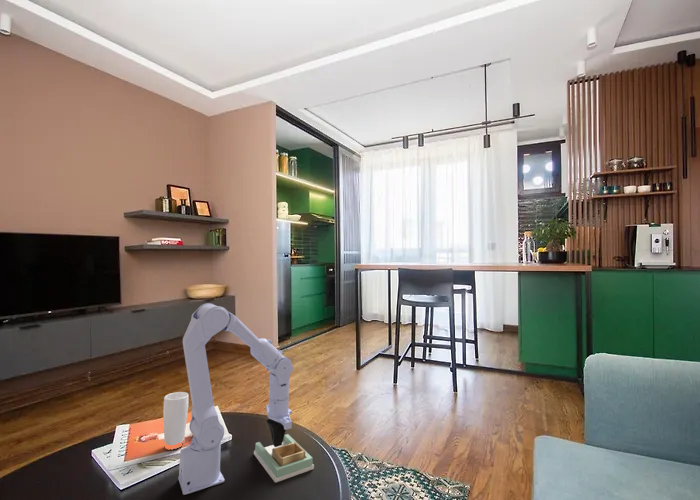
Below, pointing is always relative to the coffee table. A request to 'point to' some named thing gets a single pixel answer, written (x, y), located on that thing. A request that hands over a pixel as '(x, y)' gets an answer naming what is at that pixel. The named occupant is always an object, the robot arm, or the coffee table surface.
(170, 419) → the drinking glass
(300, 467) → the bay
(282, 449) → the crate
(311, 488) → the coffee table surface
